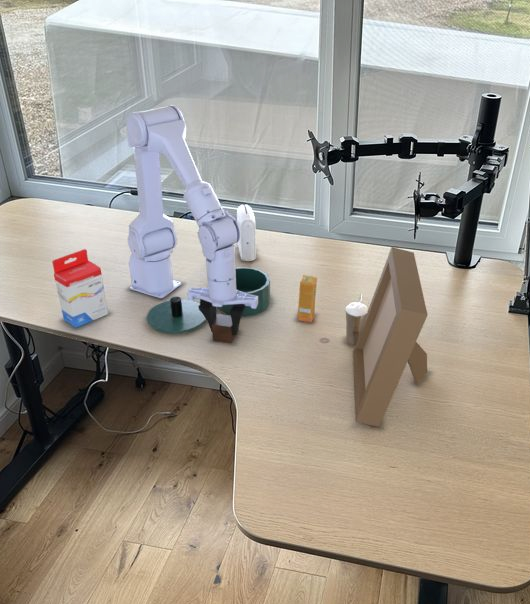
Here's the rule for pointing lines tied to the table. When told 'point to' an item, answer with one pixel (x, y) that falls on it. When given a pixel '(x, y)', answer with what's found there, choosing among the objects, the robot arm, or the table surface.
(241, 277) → the tin
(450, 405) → the table surface
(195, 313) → the lid
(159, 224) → the robot arm
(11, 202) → the table surface
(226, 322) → the block
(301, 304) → the supplement box
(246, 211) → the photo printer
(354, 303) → the milkshake
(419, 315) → the photo frame
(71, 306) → the ink box
